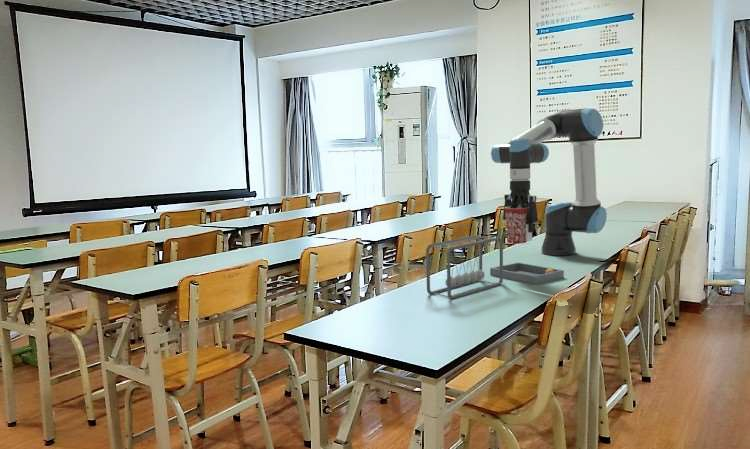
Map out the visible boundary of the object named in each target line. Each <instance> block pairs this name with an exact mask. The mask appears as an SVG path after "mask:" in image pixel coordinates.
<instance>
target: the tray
mask: <svg viewBox="0 0 750 449" xmlns="http://www.w3.org/2000/svg"><path fill="white" fill-rule="evenodd" d="M547 269H552V270H553V271H554V272H551V273H546V274H545V272H546V270H547ZM489 273H490V276H494V277H498V278H500V265H497V266H492V267H489ZM564 273H565V270H562V269H557V268H552V267H548V266H547V267H546V266H541V265H537V264H536V265H535V264H530V263H524V262H513V263H508V264H503V279H507V280H512V281H516V282H517V281H518V282H522V283H526V284H530V285H539V284H542V283H543V284H544V283H549V282H551V281H555V280H561V279H564V277H565V276H564V275H565V274H564Z"/></svg>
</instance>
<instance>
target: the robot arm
mask: <svg viewBox="0 0 750 449" xmlns="http://www.w3.org/2000/svg"><path fill="white" fill-rule="evenodd" d="M603 120H604V119H603V116H602V115H601V113H600V111H599V110H597V109H595V108H589V107H588V108H587V107H585V108H584V107H583V108H578V109H563V110H559V111H556V112H554V113H551V114H549V115H547V116H545V117H543V118H541V119H540V120H539V121H537V123H536V124H535V125H534V126H532V127H531V128H530V129H527V130H526V131H525V132H522V133H521V134H519V135H517V136H516V137H514V138H512V139H510V140H509V141H508V142H506V143H503V144H502V143H499V144H495V145H493V147H492V148H491V152H490V155H491V160H492V161H493V162H494V163H496V164H501V165H502V164H503V165H504V164H509V179H510V180H509V190H510V193H509V194H504V195H503V196H504V197H503V198H504V203H503V204H504V206H503V212H502V213H503V214H502V220H503V221H506V217H505V216H506V215H505V207H507V206H511V207H510V208H514V209H516V208H517V207H518V206H521V207H522V208H528V207H529V209H528V212H527V216H526V220H527V223H526V241H527V242H532V241H533V232H534V224H535V223H539V218H538V210H537V195H531V193H530V190H531V180H530V179H531V164H540V163H543V162H545V161H546V160H547V159H548V157H549V156H550V151H549V148H548V146H547V145H546V144H544V143H543V142H544V141H550V140H552V139H554V138H568V141H569V143H570V144H571V145H572V146H573V147H572V148H573V167H574V185H575V186H574V187H575V188H574V190H575V200H574V201H573V202H572V201H571V202H570V201H566V202H558V203H550V204H548V205H546V207H545V214H544V216H545V220H544V221H545V224H544V225H545V226H544V227H545V234H544V235H545V236H544V238H543V239H544V240H543V242H542V246H541V253H542V254H543V255H547V256H571V255H572V256H573V255H575V254H577V250H576V248H577V247H576V245H575V242H574V239H573V232H575V233H585V234H599V233H600V232H601V231H602V230H603V229H604V227H605V226H606V221H607V217H608V216H607V215H608V213H607V210H606V208H605V207H604V206H601V201H600V200H599V199H598V198H597V197H598V196H597V176H596V175H597V174H596V154H595V152H596V151H595V148H596V147H595V144H596V142H597V141H598V140H599V136H601V135H602V133H603V129H604V122H603Z"/></svg>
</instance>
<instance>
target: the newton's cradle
mask: <svg viewBox="0 0 750 449" xmlns="http://www.w3.org/2000/svg"><path fill="white" fill-rule="evenodd" d="M472 240H475V241H472ZM468 241H469V242H468ZM470 241H471V242H470ZM462 242H465V243H462ZM492 242H499V266H500V277H499V281H498V282H491V281H488V280H487V281H486V280H483V279H484V278H485V276H486V274H485V271H484V270H483V254H484V251H483V250H484V247H485V244H487V243H492ZM454 244H457V245H454ZM447 245H450V246H448V247H447ZM473 246H474V247H476V246H478V248H474V251H475V253H477V251H478V256H479V257H478V256H477V254H475V257H474V260H476V262H477V265H478V267H477V270H475V269H473V268H472V266H470V269H471V271H469V272H468V271H466V270H465V269H468V266H469V264H470V265H472V262H471V260H470V259H471V255H470V254H471V250H470V248H471V247H473ZM503 246H504V242H503V239H502V237H491V236H490V237H489V236H481V235H480V234H475V235H470V236H465V237H460V238H456V239H455V238H454V239H450V240H445V241H441V242H433V243H430V244H428V245H427V246H426V248H425V261H426V263H425V266H426V272H425V273H426V274H425V275H426V292H427V294H429V295H430V296H431V295H432V296H433V295H436V296H437V295H438V296H440V297H441V296H442V297H446V298H448V299H450V300H455V299H459V298H461V297H465V296H469V295H472V294H475V293H479V292H483V291H486V290H488V289H493V288H496V287H499V286H501V285H502V284H503V282H504V278H503V265H504V252H503V251H504V249H503V248H504V247H503ZM434 247H435V248H441V249H445V252H446V277H447V278H446V279H445V285H446V287H443V288H440V289H436V290H433V291H431V269H430V265H431V264H430V251H431V250H430V249H431V248H434ZM464 248H467V252H468V258H467V259H468V260H467V262H469V264H467V266H466V268H465V267H463V269H464V270H463V271H464V272H463V273H462V274H461V273H459V271H461V269H462V266H460V268H459V271H458V269H456V273H457V274H456V275H455V276H454V277H453V273H454V270H451V252H452V251H453V252H454V255H456V254H457V252H456V251H457V250H459V249H460V252H461V261H460V264H463V266H465V265H464V264H465V263H464V261H463V260H464V257H463V254H464V251H463V249H464ZM477 257H478V258H477ZM453 259H454V260H453V262H457V260H456V257H454V258H453ZM477 259H478V260H479V261H478V260H477ZM476 262H474V263H473V265H474V266H473V267H475V266H476V265H475V263H476ZM454 265H456V266H455V267H456V268H458V265H457V263H453V265H452V268H454ZM451 271H452V272H451ZM479 282H481V283H488V285H486V286H481V287H478V288H476V289H475V288H474V289H471V290H468V291H464V292H461V293H458V294H457V293H456V294H454V295H452V290H454V289H458V288H461V287H464V286H465V287H466V286H468V285H472V284H476V283H479ZM446 291H447V294H446V295H445V294H441V293H443V292H446Z"/></svg>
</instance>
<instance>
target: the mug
mask: <svg viewBox="0 0 750 449" xmlns="http://www.w3.org/2000/svg"><path fill="white" fill-rule="evenodd" d="M510 207H511V206H507V207H505V215H506V216H505V217H506V220H505V227H506V228H505V230H506V241H507V244H515V245H517V244H525V243H527V242H528V241H526V223H527V220H526V216H527V212H528V209H529V207H528V208H522V207H521V205H519V206H518V207H517V208H516V209H514V208H510Z"/></svg>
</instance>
